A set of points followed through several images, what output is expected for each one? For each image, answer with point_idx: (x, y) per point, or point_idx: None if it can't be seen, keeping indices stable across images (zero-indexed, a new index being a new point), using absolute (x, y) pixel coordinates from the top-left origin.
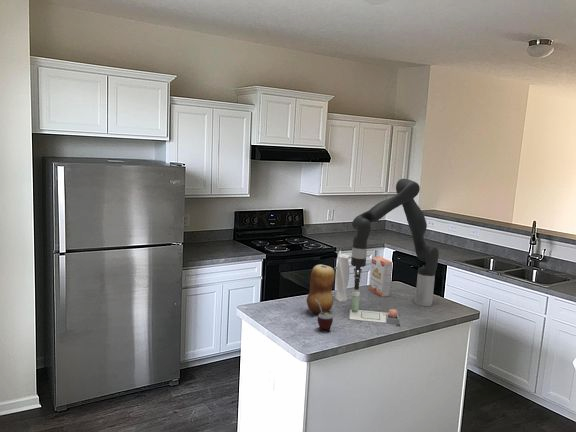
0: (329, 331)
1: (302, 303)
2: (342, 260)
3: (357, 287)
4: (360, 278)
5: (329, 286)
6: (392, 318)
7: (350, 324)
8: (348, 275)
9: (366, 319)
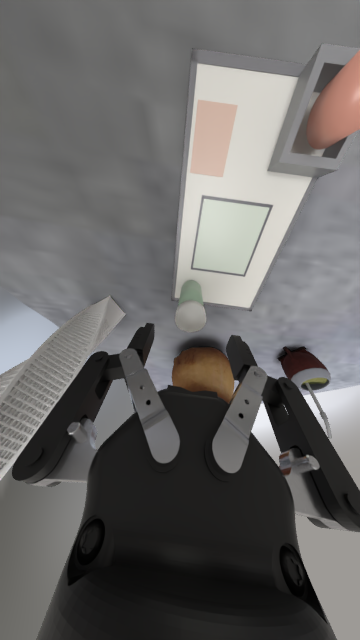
0: (305, 348)
1: (154, 369)
2: None
3: (247, 350)
4: (242, 382)
5: None
6: None
7: (273, 306)
8: (42, 352)
9: (259, 261)
